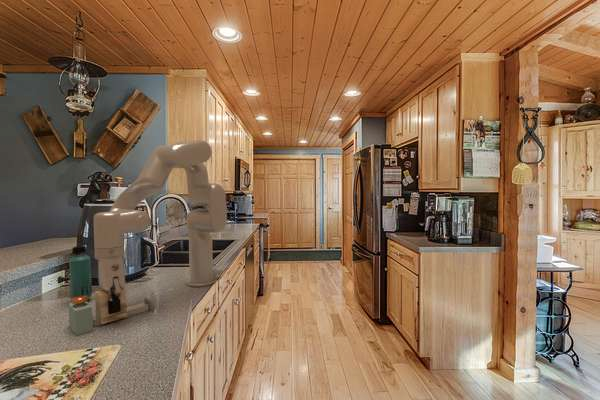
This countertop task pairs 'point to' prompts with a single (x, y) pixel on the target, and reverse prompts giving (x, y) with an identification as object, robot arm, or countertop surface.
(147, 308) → the rail
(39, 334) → the countertop surface
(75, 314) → the grey-green rectangular block
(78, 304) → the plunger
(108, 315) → the light wood block
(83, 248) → the beverage bottle
